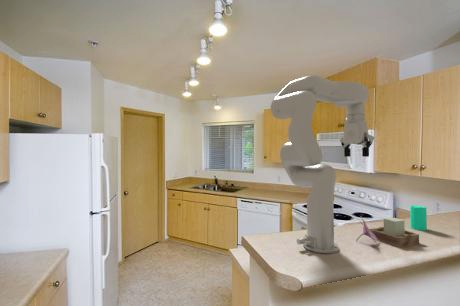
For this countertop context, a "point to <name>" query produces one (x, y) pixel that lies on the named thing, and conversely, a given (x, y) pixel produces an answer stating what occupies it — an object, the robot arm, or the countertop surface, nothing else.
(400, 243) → the base block
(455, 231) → the countertop surface
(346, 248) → the countertop surface
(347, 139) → the robot arm
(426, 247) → the countertop surface
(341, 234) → the countertop surface
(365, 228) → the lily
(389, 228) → the sage block
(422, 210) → the candle
